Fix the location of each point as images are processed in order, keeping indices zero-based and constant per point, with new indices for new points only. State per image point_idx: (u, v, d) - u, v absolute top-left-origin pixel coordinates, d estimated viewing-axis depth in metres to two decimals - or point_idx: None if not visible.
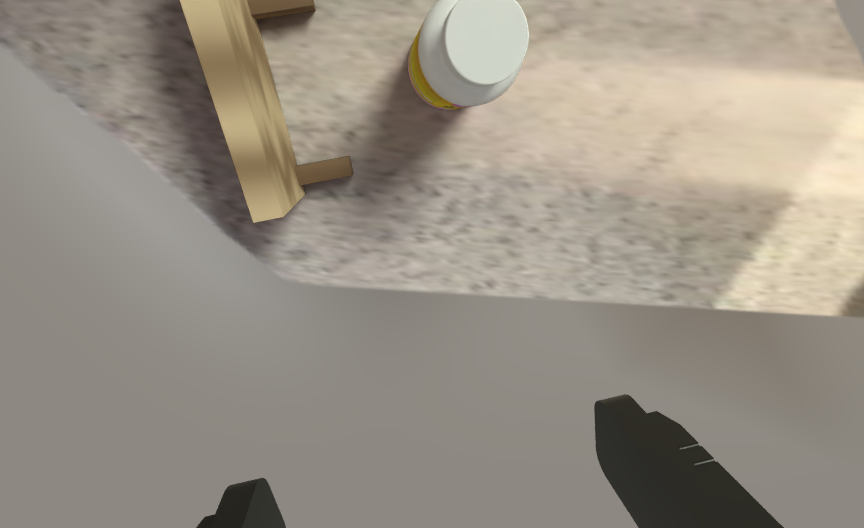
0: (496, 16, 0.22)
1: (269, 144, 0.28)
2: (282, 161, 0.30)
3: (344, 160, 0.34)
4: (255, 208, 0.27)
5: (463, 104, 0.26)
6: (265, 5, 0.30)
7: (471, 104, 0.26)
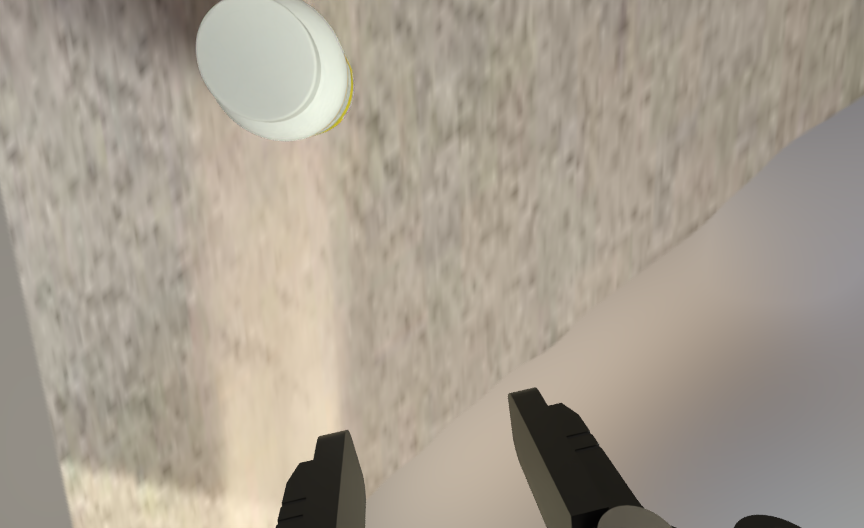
0: (284, 72, 0.17)
1: None
2: None
3: None
4: None
5: None
6: None
7: None
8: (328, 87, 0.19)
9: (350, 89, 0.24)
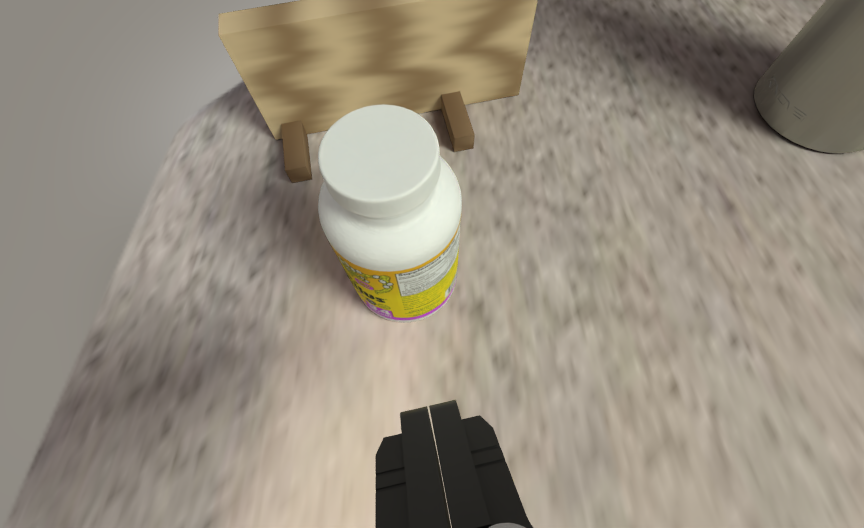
0: (404, 157, 0.15)
1: (305, 50, 0.26)
2: (296, 82, 0.28)
3: (302, 163, 0.30)
4: (233, 15, 0.25)
5: (320, 193, 0.19)
6: (450, 104, 0.32)
7: (318, 200, 0.19)
8: (444, 201, 0.18)
9: (458, 246, 0.22)
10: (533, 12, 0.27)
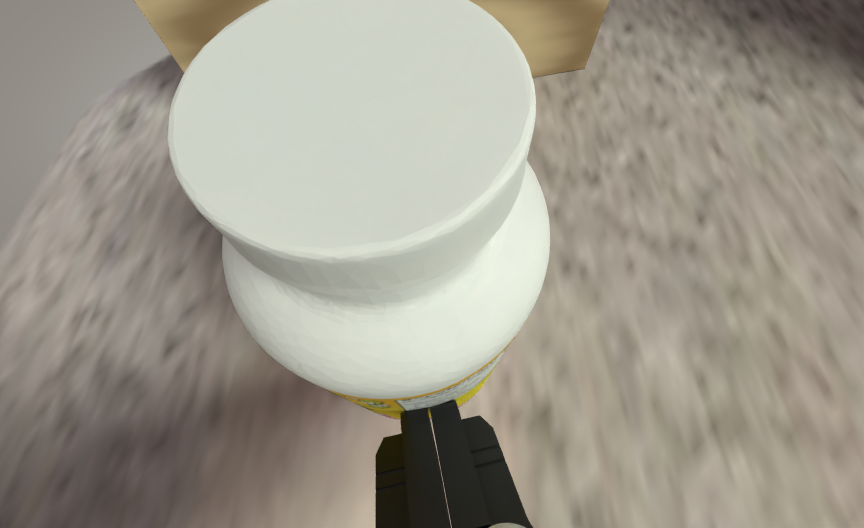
0: (432, 113, 0.05)
1: None
2: None
3: None
4: None
5: None
6: None
7: None
8: (520, 236, 0.07)
9: None
10: None
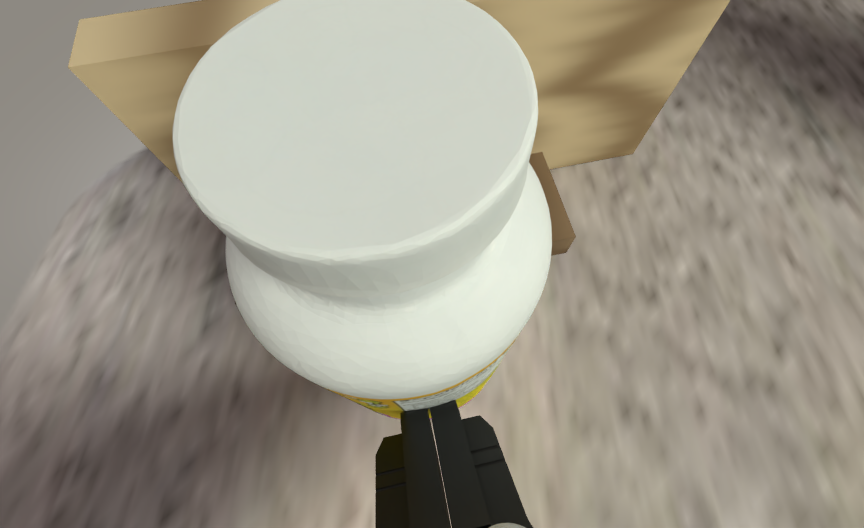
0: (433, 117, 0.05)
1: None
2: None
3: None
4: (108, 24, 0.12)
5: None
6: None
7: None
8: (521, 241, 0.07)
9: None
10: (714, 20, 0.14)
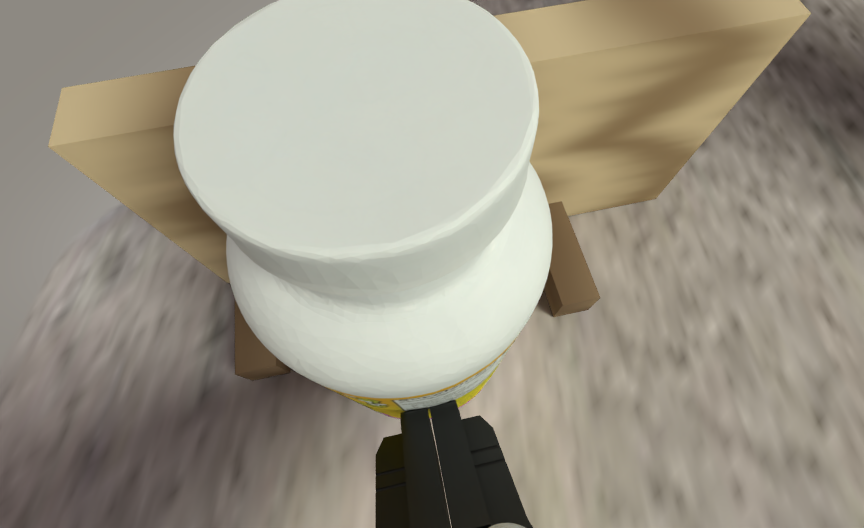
0: (434, 116, 0.05)
1: None
2: None
3: (270, 357, 0.15)
4: (94, 93, 0.11)
5: None
6: None
7: None
8: (521, 241, 0.07)
9: None
10: (755, 76, 0.13)
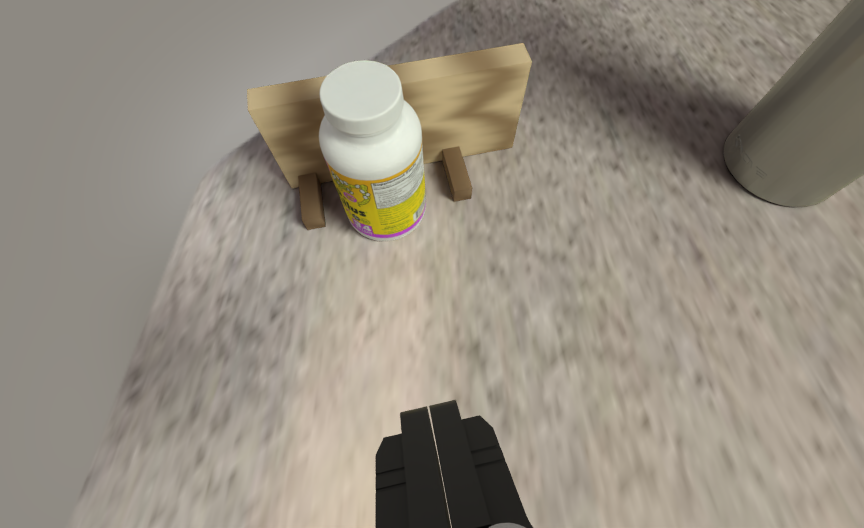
0: (377, 94, 0.23)
1: None
2: (313, 143, 0.32)
3: (317, 214, 0.33)
4: (260, 91, 0.28)
5: None
6: (450, 159, 0.35)
7: (319, 130, 0.26)
8: (407, 131, 0.25)
9: (422, 176, 0.29)
10: (525, 85, 0.31)
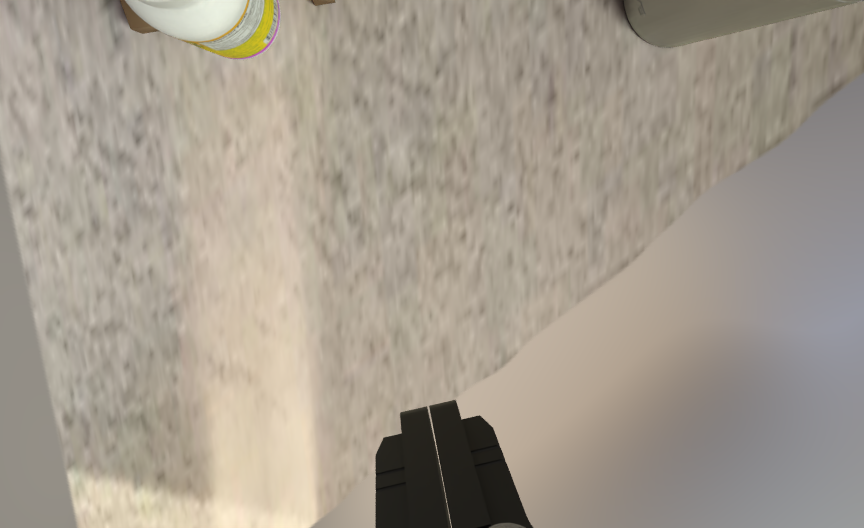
0: None
1: None
2: None
3: None
4: None
5: None
6: None
7: None
8: None
9: (264, 6, 0.25)
10: None
